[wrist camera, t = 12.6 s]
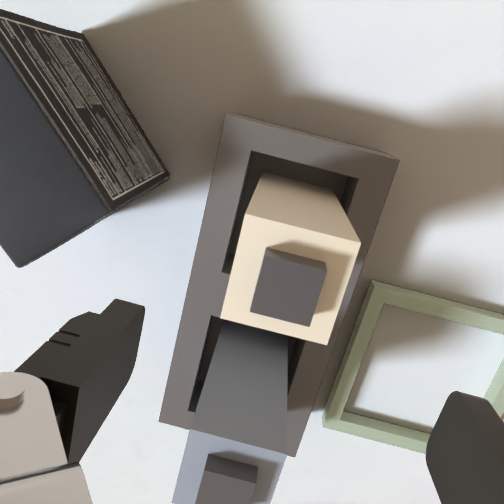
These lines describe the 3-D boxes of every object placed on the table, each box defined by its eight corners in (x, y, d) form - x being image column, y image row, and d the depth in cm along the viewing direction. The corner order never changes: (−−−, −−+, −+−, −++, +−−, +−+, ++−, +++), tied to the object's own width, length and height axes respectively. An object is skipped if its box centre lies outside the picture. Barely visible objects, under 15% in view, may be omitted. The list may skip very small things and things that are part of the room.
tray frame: (536, 323, 31) (546, 331, 30) (469, 455, 35) (475, 466, 34) (371, 279, 31) (374, 286, 30) (321, 416, 35) (322, 426, 34)
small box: (5, 85, 29) (-142, 73, 19) (82, 29, 28) (-33, -16, 18) (99, 222, 32) (11, 275, 22) (174, 177, 30) (117, 211, 20)
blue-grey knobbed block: (287, 330, 32) (286, 471, 19) (271, 383, 33) (260, 545, 21) (225, 314, 32) (185, 444, 19) (212, 367, 33) (166, 520, 21)
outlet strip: (384, 152, 28) (401, 160, 24) (295, 415, 35) (296, 457, 31) (233, 113, 28) (223, 114, 24) (173, 383, 35) (157, 421, 31)
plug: (332, 189, 28) (365, 250, 16) (312, 254, 30) (328, 358, 18) (262, 171, 28) (242, 220, 16) (246, 238, 30) (216, 329, 18)
